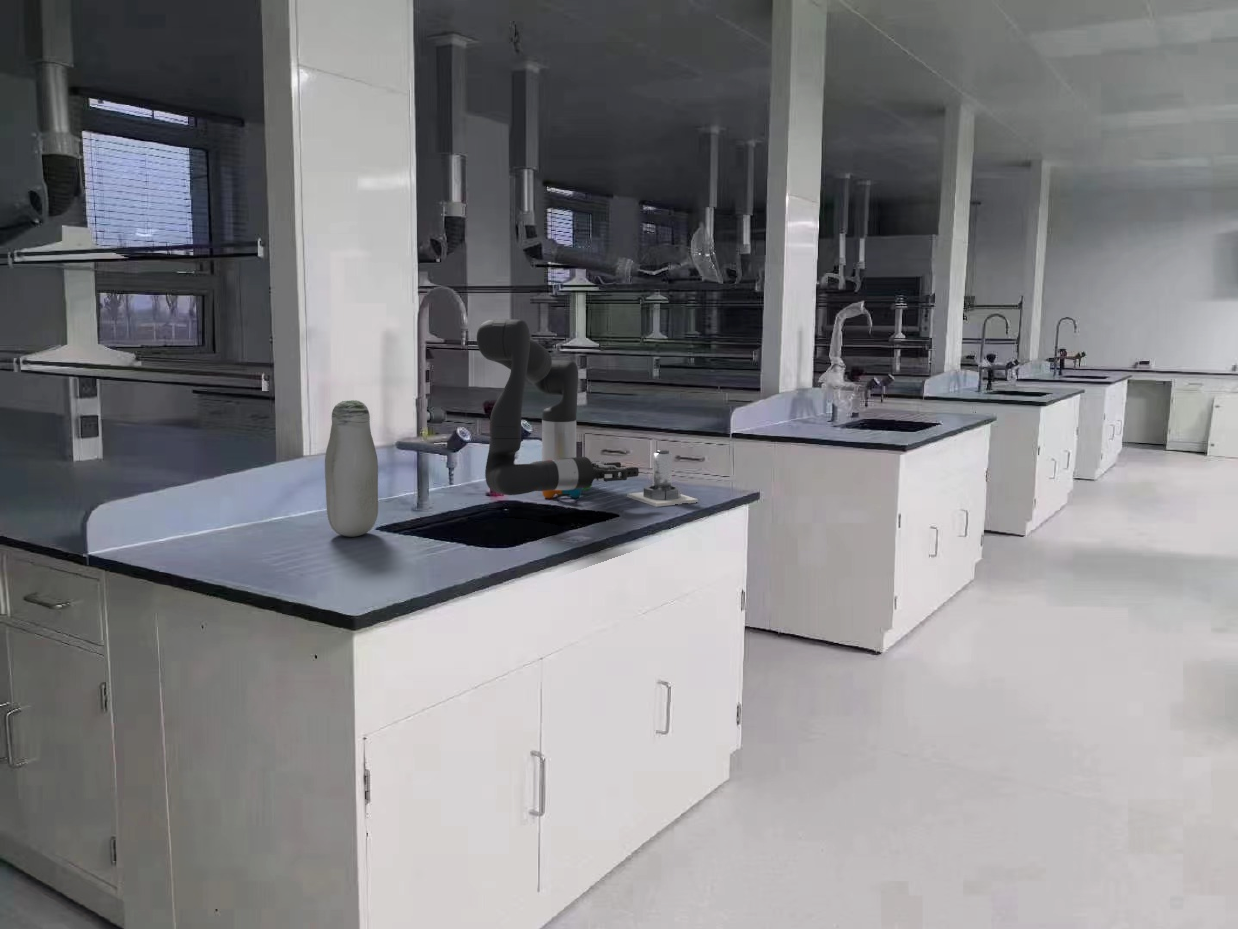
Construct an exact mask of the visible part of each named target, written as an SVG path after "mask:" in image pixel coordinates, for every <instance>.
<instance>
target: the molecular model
mask: <svg viewBox="0 0 1238 929" xmlns="http://www.w3.org/2000/svg"><path fill="white" fill-rule="evenodd" d="M547 461H548V460H547ZM592 486H593V484H592V485H591V486H590V487H589V488H583V489H572V490H548V491H541V492H542V496H543V497H544V498H545V499H552V498H554V497H555V495H569V497H571V498H574V499H577V498H580V496H581V495H582V493H583V492H582V490H585V491H586V490H590V489H591V488H592Z"/></svg>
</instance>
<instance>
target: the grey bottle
mask: <svg viewBox="0 0 1238 929" xmlns="http://www.w3.org/2000/svg"><path fill="white" fill-rule="evenodd" d="M370 417H371V416H370V412H369V409H368V407H367V405H366V404H365V403H364V402H362V401H360V400H356V399H355V400H354V399H353V400H342V401H340V402H338V403H336V404H335V405H334V406H333V409H332V412H331V426H330V434H329V439H328V444H327V446H326V450H325V456H324V478H325V498H326V500H325V501H326V502H325V503H326V514H327V520H328V523H329V525H330V526H331V529H332V530H333V531H334V533H336V534H337V535H341V536H343V537H350V538H351V537H352V538H353V537H359V536H362V535H365V534H367V533H368V532H370V531H371V530H372V529H373V527H374V525H375V524H376V522H377V519H378V514H379V486H378V485H379V463H378V462H379V461H378V454H377V450H376V447H375V443H374V439H373V436H372V431H371V430H372V429H371V423H370V422H371V420H370V419H371V418H370Z"/></svg>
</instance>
